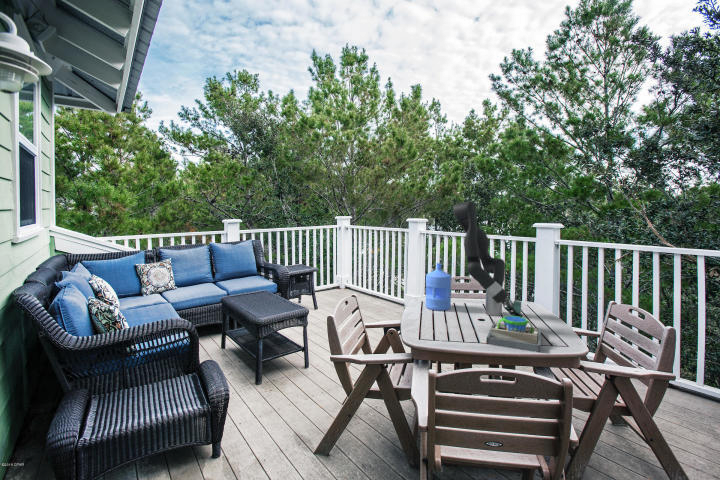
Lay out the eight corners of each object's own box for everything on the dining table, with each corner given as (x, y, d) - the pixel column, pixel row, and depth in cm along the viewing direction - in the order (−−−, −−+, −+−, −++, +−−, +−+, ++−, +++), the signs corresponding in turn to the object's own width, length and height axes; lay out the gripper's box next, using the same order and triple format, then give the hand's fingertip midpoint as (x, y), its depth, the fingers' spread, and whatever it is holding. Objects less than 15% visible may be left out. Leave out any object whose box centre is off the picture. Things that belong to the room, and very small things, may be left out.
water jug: (431, 303, 240) (432, 261, 238) (454, 306, 231) (455, 263, 229) (421, 308, 228) (421, 264, 225) (444, 312, 218) (445, 266, 216)
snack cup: (530, 337, 175) (531, 317, 175) (534, 345, 165) (534, 323, 165) (496, 334, 180) (497, 314, 179) (497, 341, 170) (498, 320, 169)
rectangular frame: (493, 327, 190) (493, 322, 190) (540, 334, 180) (540, 328, 180) (486, 343, 167) (486, 337, 167) (540, 352, 157) (540, 345, 157)
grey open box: (496, 325, 192) (497, 298, 191) (537, 331, 184) (538, 303, 183) (491, 339, 172) (492, 309, 171) (536, 346, 163) (538, 314, 162)
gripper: (500, 290, 182) (526, 317, 177) (503, 285, 194) (527, 310, 190) (489, 299, 185) (514, 326, 180) (492, 293, 197) (516, 319, 193)
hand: (521, 318), depth 185 cm, fingers closed on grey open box, 3 cm apart
